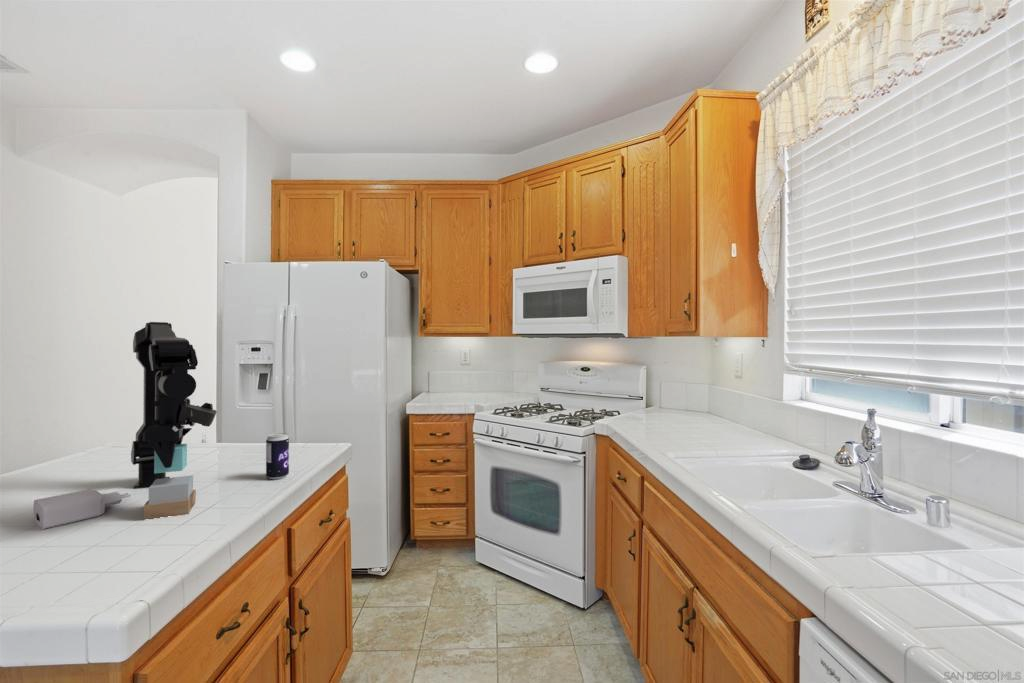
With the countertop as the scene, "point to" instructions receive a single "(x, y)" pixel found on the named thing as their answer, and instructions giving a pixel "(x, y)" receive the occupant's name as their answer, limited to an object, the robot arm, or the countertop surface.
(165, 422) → the robot arm
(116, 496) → the charger
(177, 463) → the teal cube
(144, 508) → the tower base
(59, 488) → the countertop surface
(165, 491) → the tower top
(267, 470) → the beverage can
